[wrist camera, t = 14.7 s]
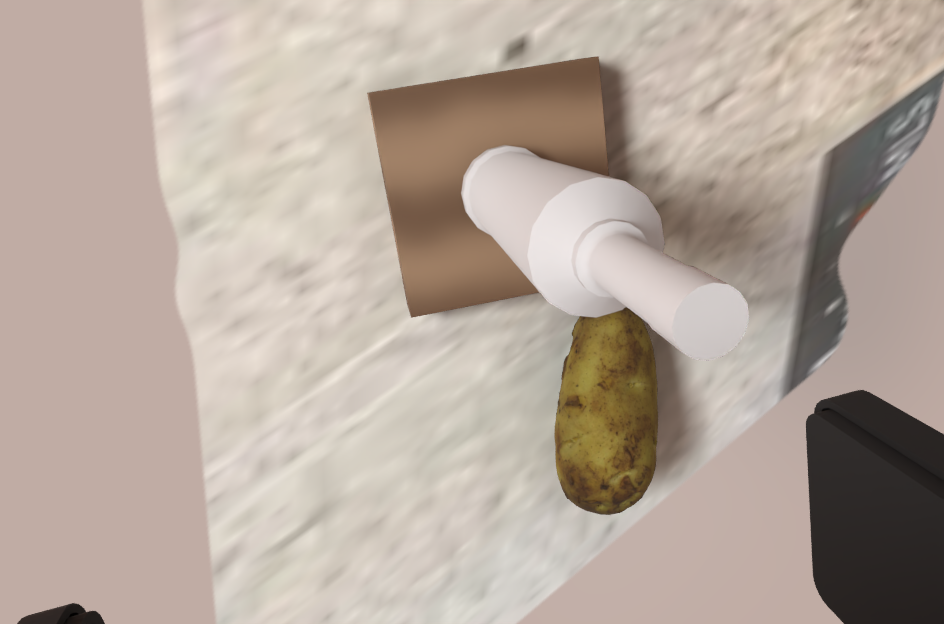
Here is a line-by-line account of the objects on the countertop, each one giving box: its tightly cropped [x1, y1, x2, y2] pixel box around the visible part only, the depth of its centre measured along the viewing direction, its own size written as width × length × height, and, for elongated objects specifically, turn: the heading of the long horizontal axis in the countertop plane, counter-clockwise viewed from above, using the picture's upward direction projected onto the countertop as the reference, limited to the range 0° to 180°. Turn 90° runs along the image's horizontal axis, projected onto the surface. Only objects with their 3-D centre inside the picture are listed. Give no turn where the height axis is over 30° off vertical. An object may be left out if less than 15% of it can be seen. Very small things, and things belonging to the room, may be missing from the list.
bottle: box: [461, 145, 749, 361], centre depth 29 cm, size 5×5×25 cm
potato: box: [555, 307, 658, 515], centre depth 46 cm, size 8×13×8 cm, turn 155°
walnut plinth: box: [367, 57, 609, 318], centre depth 43 cm, size 13×13×3 cm
